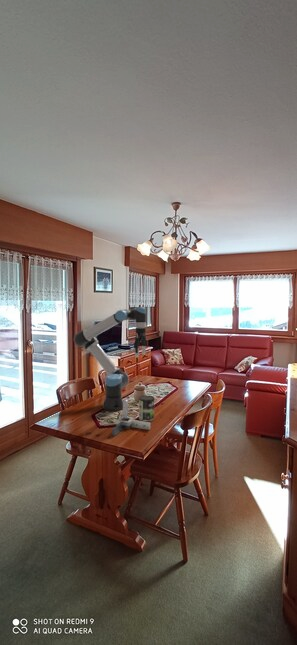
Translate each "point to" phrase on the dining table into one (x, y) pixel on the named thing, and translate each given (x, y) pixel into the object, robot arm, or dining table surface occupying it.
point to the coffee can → (146, 408)
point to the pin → (125, 410)
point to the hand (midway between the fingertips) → (140, 355)
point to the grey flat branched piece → (129, 425)
